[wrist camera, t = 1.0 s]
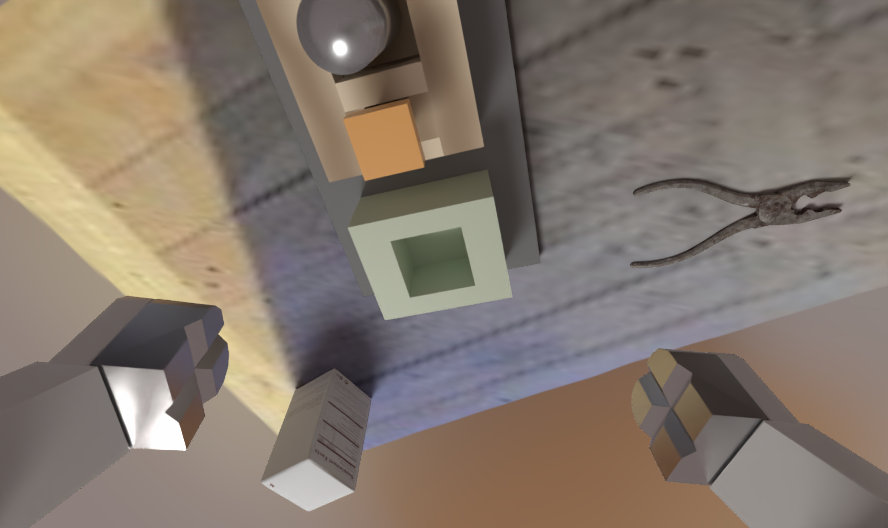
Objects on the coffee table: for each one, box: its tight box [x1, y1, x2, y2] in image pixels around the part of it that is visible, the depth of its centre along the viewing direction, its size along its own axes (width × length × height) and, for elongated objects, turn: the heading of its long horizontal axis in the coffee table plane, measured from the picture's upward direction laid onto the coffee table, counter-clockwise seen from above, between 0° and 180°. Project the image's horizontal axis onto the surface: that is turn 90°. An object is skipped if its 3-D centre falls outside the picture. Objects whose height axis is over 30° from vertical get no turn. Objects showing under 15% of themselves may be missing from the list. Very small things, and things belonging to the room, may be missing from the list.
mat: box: [239, 0, 540, 296], centre depth 37 cm, size 19×31×1 cm, turn 13°
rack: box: [348, 169, 512, 320], centre depth 39 cm, size 12×10×6 cm
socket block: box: [256, 0, 484, 182], centre depth 30 cm, size 12×14×6 cm
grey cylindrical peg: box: [296, 0, 402, 75], centre depth 26 cm, size 4×4×12 cm
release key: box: [343, 98, 425, 181], centre depth 29 cm, size 4×4×6 cm
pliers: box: [630, 180, 850, 268], centre depth 41 cm, size 10×1×20 cm
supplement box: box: [261, 368, 371, 511], centre depth 50 cm, size 7×7×13 cm
